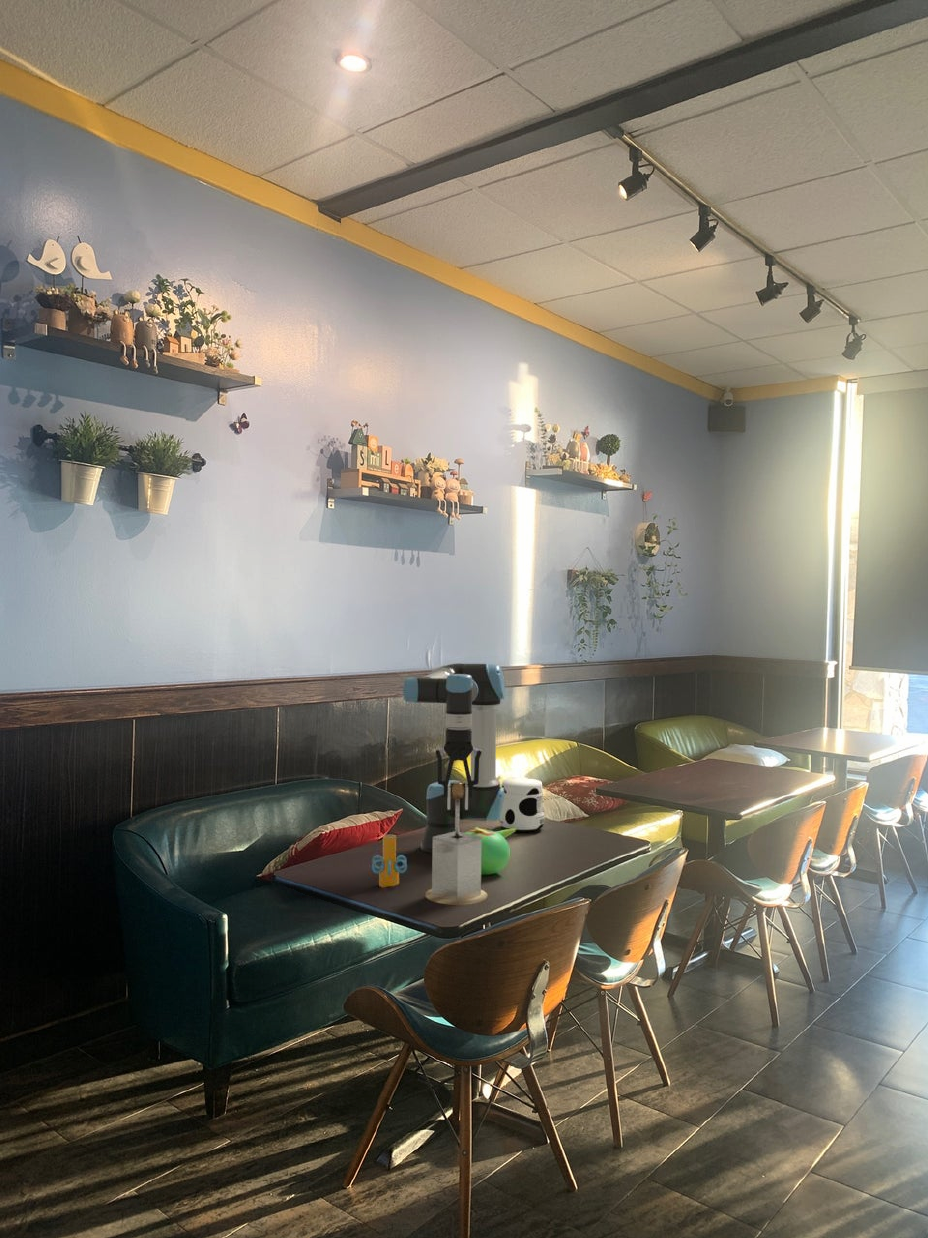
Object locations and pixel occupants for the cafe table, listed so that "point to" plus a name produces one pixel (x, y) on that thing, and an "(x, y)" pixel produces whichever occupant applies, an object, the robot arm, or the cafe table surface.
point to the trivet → (464, 902)
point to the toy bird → (493, 849)
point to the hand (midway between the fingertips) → (457, 808)
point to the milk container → (522, 805)
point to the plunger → (457, 801)
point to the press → (456, 866)
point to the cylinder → (389, 863)
